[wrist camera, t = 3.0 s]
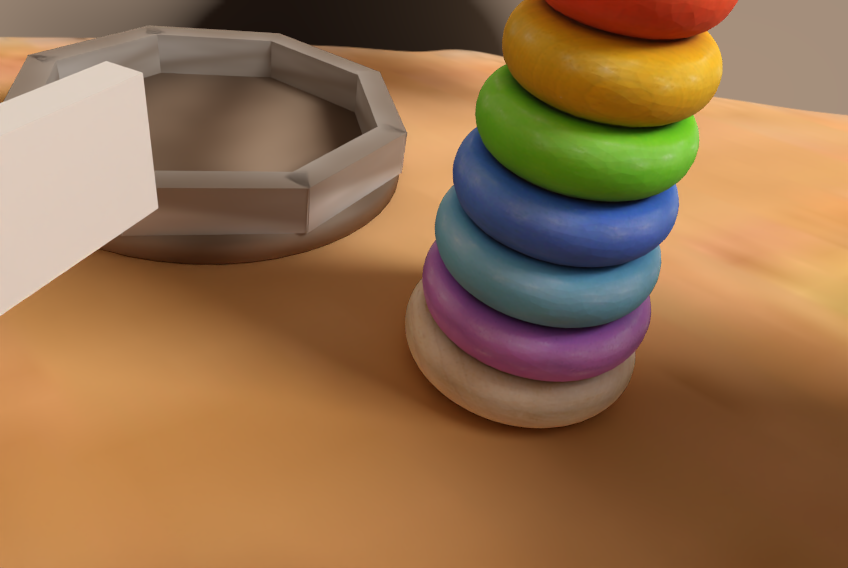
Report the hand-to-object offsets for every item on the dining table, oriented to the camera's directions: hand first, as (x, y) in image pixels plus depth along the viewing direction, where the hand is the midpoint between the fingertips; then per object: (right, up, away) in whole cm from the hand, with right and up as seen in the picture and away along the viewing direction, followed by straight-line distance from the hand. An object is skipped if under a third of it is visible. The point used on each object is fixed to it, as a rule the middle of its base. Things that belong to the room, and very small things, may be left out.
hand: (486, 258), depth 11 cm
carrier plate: (-11, +6, +21) cm, 24 cm away
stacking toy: (+2, -3, +13) cm, 14 cm away
